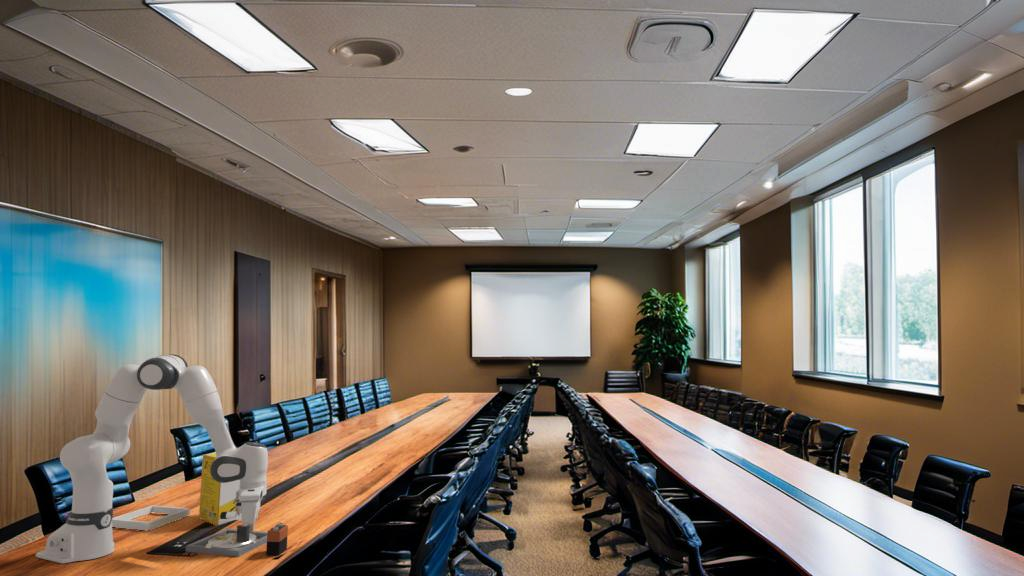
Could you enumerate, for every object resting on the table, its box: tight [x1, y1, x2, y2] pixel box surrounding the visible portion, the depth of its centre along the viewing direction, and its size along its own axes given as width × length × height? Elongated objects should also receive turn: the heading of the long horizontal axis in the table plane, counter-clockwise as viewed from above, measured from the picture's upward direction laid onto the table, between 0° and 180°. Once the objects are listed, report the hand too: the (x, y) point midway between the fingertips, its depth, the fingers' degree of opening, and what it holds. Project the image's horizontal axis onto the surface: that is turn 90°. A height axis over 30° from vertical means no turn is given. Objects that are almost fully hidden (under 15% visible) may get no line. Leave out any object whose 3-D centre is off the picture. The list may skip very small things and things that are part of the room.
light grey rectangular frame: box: [111, 505, 191, 531], centre depth 236 cm, size 18×21×3 cm
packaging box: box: [198, 452, 260, 527], centre depth 243 cm, size 16×16×25 cm
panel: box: [185, 528, 267, 558], centre depth 207 cm, size 20×20×4 cm
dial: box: [208, 524, 257, 549], centre depth 207 cm, size 15×15×7 cm
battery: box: [265, 522, 289, 560], centre depth 200 cm, size 4×7×10 cm, turn 178°
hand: (250, 531), depth 209 cm, fingers closed
